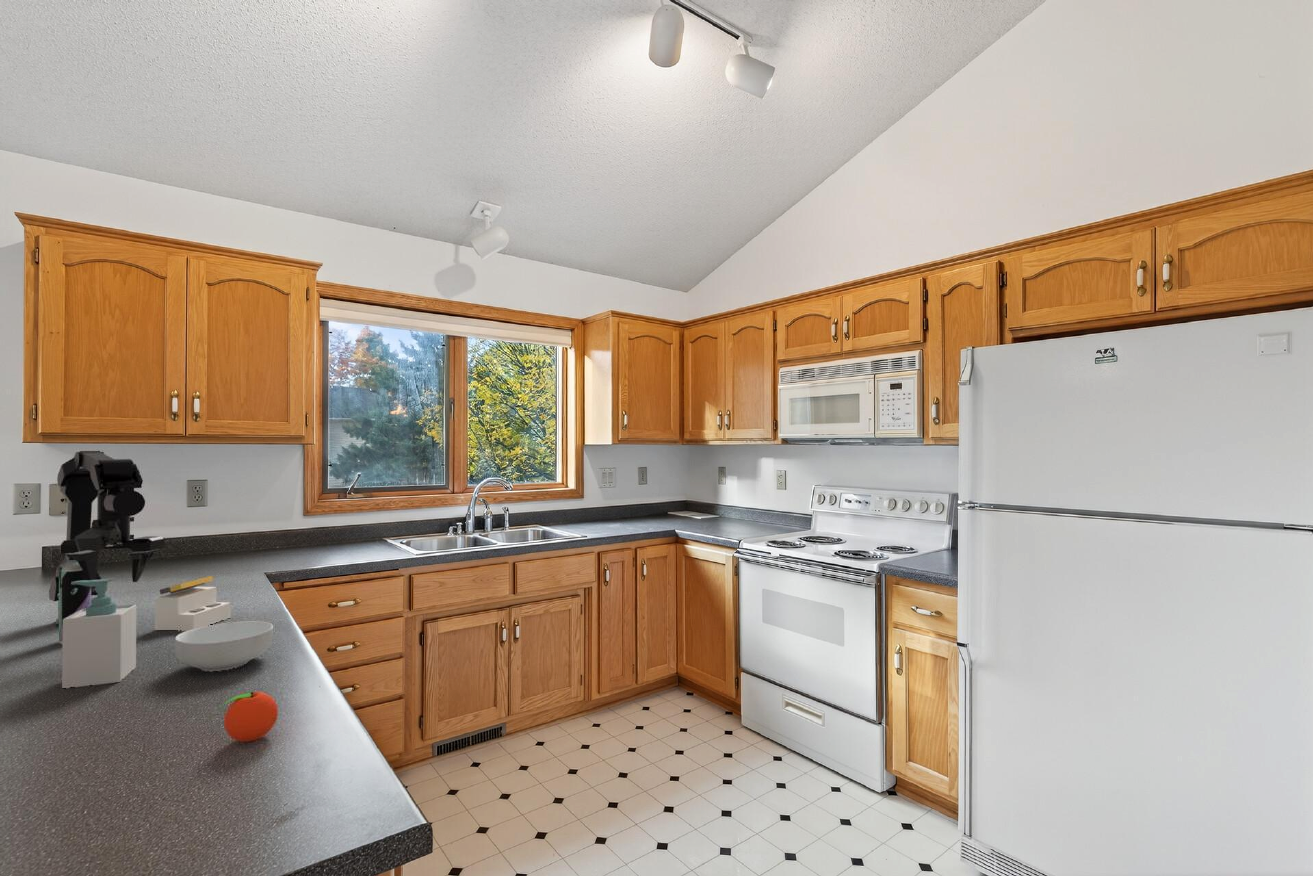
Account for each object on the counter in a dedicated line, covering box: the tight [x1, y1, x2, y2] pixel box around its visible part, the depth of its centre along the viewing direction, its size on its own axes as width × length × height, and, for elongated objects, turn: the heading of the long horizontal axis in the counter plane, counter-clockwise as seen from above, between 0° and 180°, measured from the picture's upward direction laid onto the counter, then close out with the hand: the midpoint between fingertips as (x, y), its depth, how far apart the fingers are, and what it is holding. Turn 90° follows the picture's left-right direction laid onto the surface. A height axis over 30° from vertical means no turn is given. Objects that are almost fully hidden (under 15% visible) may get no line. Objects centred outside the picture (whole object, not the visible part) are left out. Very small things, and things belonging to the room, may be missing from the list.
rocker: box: [159, 575, 214, 595], centre depth 160 cm, size 6×10×2 cm, turn 175°
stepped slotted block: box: [154, 586, 232, 632], centre depth 160 cm, size 10×12×8 cm
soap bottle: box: [61, 577, 137, 689], centre depth 123 cm, size 9×9×19 cm
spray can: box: [58, 557, 92, 645], centre depth 146 cm, size 6×6×20 cm
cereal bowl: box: [174, 620, 274, 673], centre depth 130 cm, size 17×17×7 cm
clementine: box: [215, 691, 279, 743], centre depth 96 cm, size 8×7×7 cm
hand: (113, 582), depth 145 cm, fingers open, 9 cm apart
